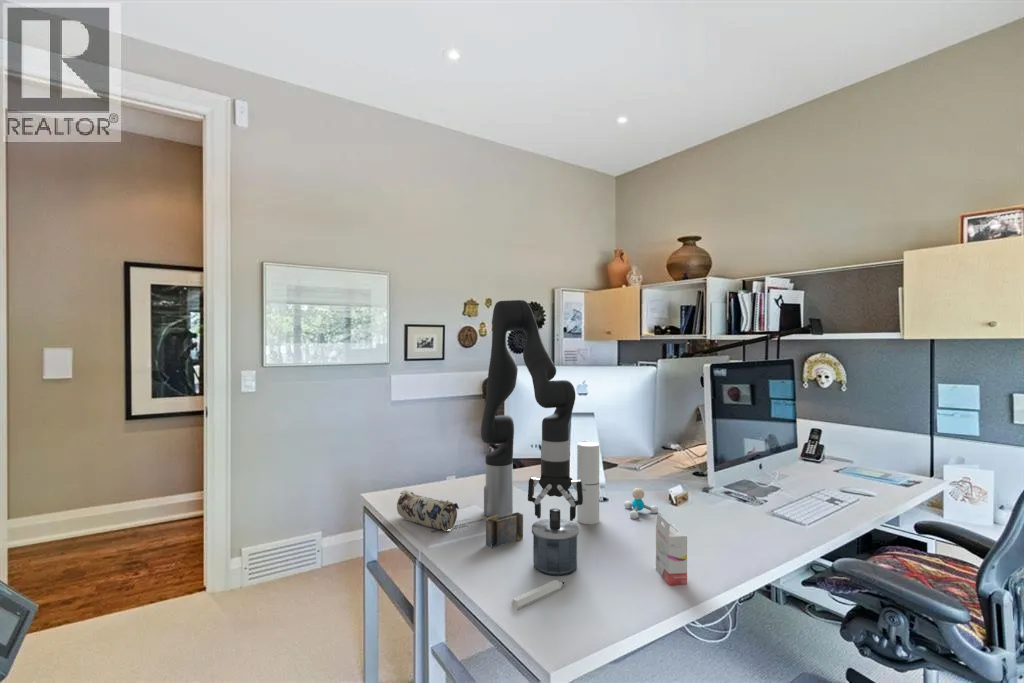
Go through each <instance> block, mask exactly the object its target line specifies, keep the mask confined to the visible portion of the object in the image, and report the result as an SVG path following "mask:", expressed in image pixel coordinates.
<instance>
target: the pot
mask: <svg viewBox="0 0 1024 683" xmlns="http://www.w3.org/2000/svg"><path fill="white" fill-rule="evenodd" d="M532 535H533V534H532ZM532 539H533V544H532V545H533V546H532V547H533V549H532V550H533V553H532V554H533V555H532V556H533V557H532V558H533V567H534V569H535V570H536V571H537V572H539V573H541V574H542V575H546V576H549V577H550V576H551V577H565V576H568V575H572V574H573V573H575V572H576V570H577V569H578V535H577V536H576V537H575V538H573V539H570V540H565V541H550V540H544V539H541V538H538V537H536V536H535V535H533V536H532Z"/></svg>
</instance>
